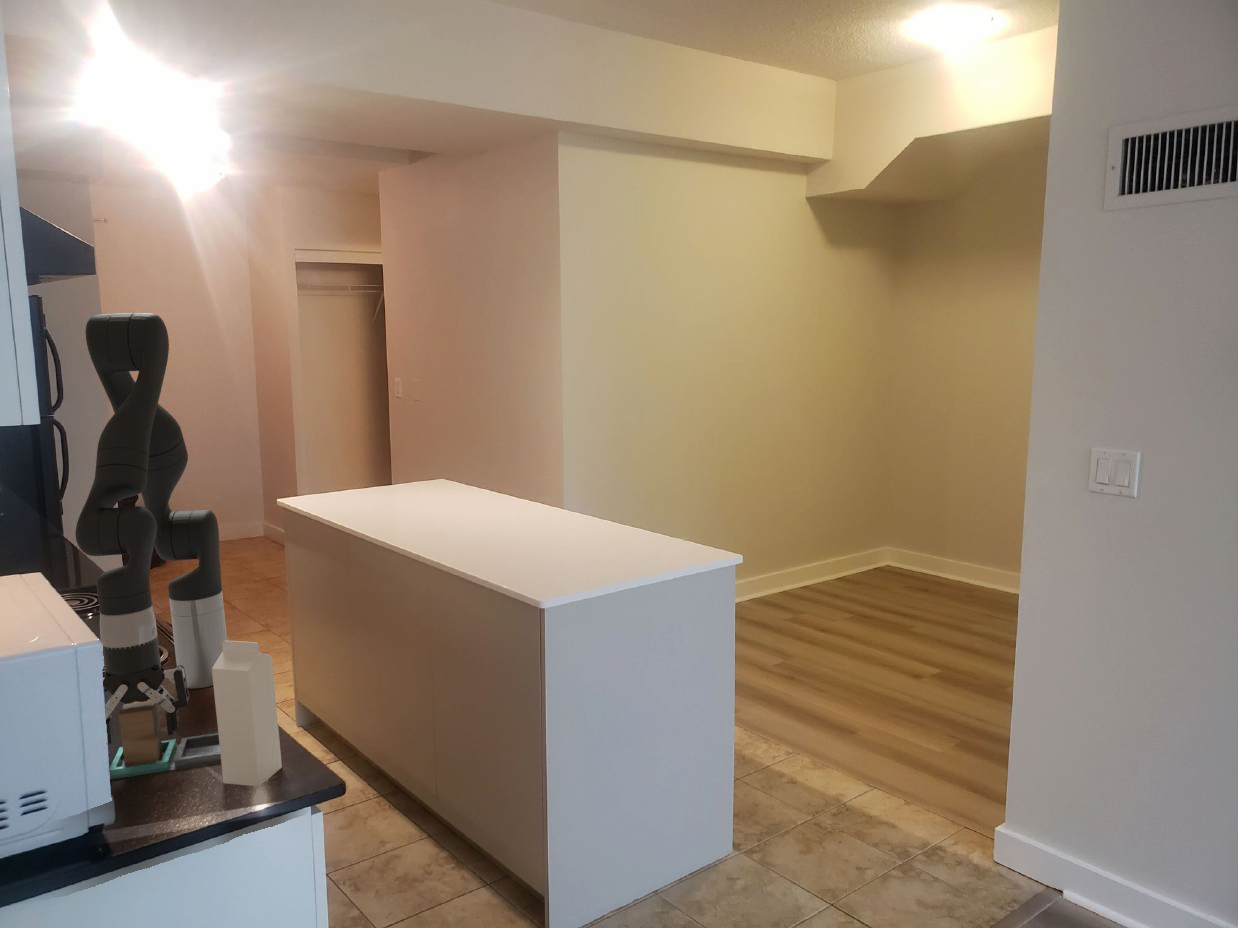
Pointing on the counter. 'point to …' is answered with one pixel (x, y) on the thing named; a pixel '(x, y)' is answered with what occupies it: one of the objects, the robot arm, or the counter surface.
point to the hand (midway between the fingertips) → (141, 737)
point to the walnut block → (140, 732)
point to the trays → (173, 756)
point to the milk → (246, 714)
